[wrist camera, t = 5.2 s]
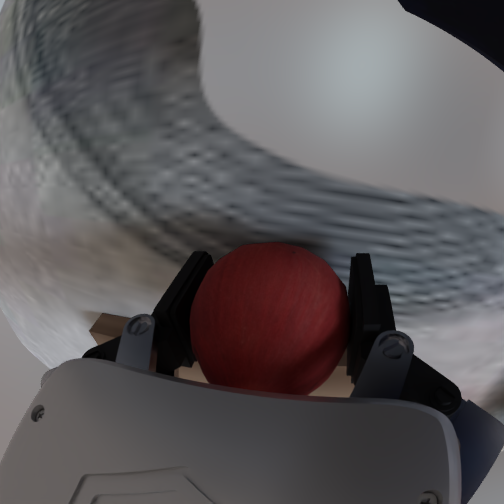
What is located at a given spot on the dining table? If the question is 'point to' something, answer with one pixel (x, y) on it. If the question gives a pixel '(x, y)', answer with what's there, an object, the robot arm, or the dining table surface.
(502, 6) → the decorative orb
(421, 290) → the dining table surface
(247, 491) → the robot arm
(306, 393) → the onion
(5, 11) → the dining table surface
